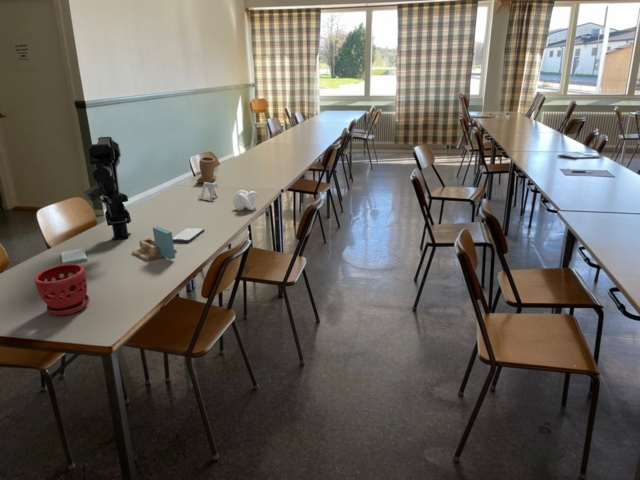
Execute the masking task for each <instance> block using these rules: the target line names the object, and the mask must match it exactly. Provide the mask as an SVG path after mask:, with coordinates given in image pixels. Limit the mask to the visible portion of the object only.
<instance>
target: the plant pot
mask: <svg viewBox="0 0 640 480" xmlns="http://www.w3.org/2000/svg"><path fill="white" fill-rule="evenodd" d="M69 274H72V276H69ZM60 275H63V277H61V276H60ZM33 279H34V282H35V287H36V289H37V291H38V294H39V296H40V298H41V300H42V301H43V302H44V303H45V304H46V310H47V312H48V313H50V314H51V315H55V316H64V315H72V314H74V313H76V312H79V311H81V310H83V309H84V308H85V307H86V306H87V305H88V304H89V302H90V298H91V297H90V296H89V295H88V294H87V292H88V285H87V284H88V283H87V274H86V269H85V268H84V266H83V265H81V264H79V263H73V264H64V265H63V264H60V265H54V266H52V267H49V268H47V269H45V270H42V271H41V272H39V273H38V274H36V275H35V277H34V278H33ZM52 279H54V280H52ZM46 280H47V281H46Z"/></svg>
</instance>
